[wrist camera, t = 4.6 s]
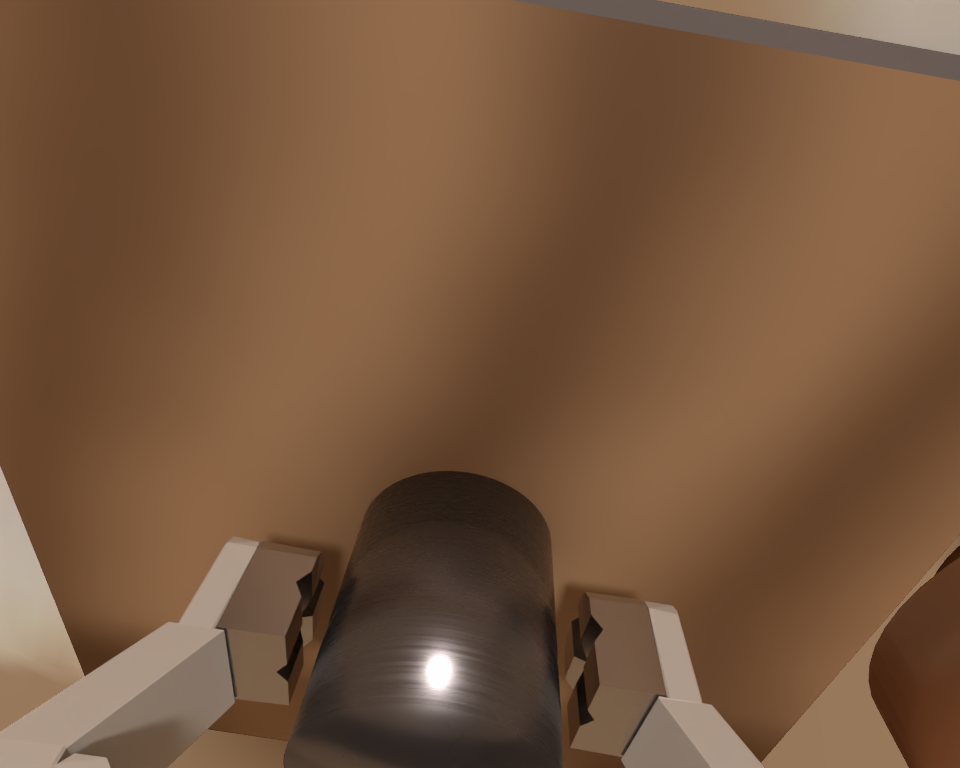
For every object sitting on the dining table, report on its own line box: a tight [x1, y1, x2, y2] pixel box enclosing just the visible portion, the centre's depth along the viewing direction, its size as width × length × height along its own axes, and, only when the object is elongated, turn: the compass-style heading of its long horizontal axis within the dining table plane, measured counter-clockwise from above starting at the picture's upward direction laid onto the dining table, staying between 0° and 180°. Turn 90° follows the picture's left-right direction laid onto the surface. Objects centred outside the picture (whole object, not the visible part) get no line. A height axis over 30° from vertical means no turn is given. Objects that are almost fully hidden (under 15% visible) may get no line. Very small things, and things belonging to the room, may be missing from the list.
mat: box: [513, 0, 960, 81], centre depth 14 cm, size 18×18×1 cm
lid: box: [0, 0, 960, 768], centre depth 10 cm, size 17×17×8 cm
